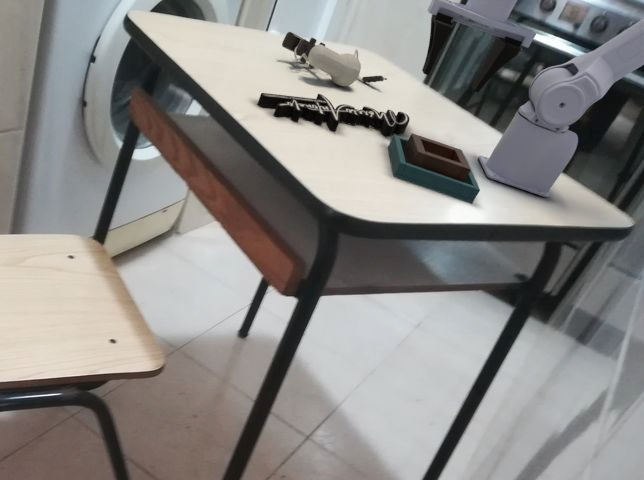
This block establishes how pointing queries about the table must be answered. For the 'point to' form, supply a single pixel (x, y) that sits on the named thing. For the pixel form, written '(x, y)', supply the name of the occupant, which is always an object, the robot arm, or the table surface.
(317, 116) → the nameplate
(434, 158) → the frame
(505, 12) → the robot arm
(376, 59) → the table surface
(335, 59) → the clip-on lamp
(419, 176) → the holder
